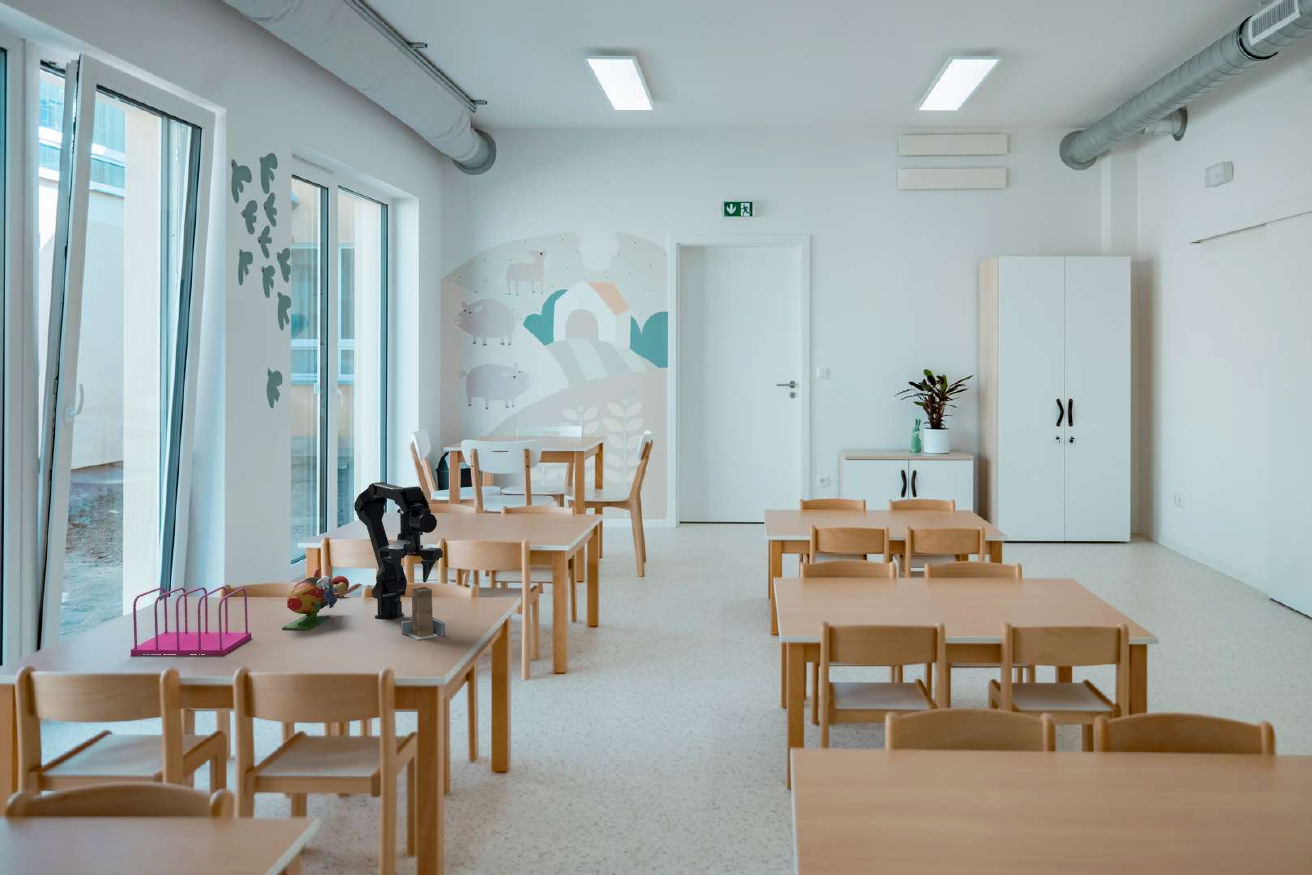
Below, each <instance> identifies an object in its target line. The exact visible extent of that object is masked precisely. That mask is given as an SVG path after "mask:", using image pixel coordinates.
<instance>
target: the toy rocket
mask: <svg viewBox="0 0 1312 875" xmlns="http://www.w3.org/2000/svg"><path fill="white" fill-rule="evenodd" d="M321 570H322V569H321V567H320V566H318V567H317V568H316V569H315V571H314V575H313V576H311V577H307V578H306V579H304V580H302V581H300V582H298V583H296V584H295V585H294V586H293V588H292V589H291V591H290V592H289V593H288V596H287V599H286V602H287V604H286V605H287V607H286V608H288V609H289V611H290V610H291V611H292V612H294V613H296V614H299V615H303V616H301V617H299V618H297V619H296V620H294V621H292V622H290V623H288V624H286V625H284V626H282V628H281V629H282V631H307V632H308V631H310V630H312V629H313V628H315V627H317V626H319V625H321V624H322V623H324V622H325V621H327V620H330V619H331V615H318V613H319V612H320V611H321V610H323V609H324V608H325V607H328V608H329V609H332V608H334V606H335V605H336V603H337V602H338V598H337V596H338V595H340V593H338V590H337V589H336V588H335V587H333V584H331V581H332V579H331V578H330V576H327V575H324V576H322V577H321V575H320V574H321Z"/></svg>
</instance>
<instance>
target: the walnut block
mask: <svg viewBox="0 0 1312 875" xmlns="http://www.w3.org/2000/svg"><path fill="white" fill-rule="evenodd" d="M432 590H433V589H432V588H428V587H426V586H421V587H414V588H412V587H411V614H412V615H411V617H412V619H411V620H412V624H413V634H414V635H416V636H418V637H424V636H430V635H433V633H434V632H433V617H434V616H433V591H432Z"/></svg>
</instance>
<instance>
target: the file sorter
mask: <svg viewBox="0 0 1312 875" xmlns="http://www.w3.org/2000/svg"><path fill="white" fill-rule="evenodd" d="M181 590H182V592H183V593H181V594H179V595H178V596H177V598H176V601H175V620H176V621H175V629H176V631H168V630H169V629H168V605H167V604H168V601H167V600H168V599H167V595H170V594H172V593H177V592H178V591H181ZM200 590H201V591H203V592H204V594H203V595H201V597H200V598H199V600H198V602H197V631H188V630H189V629H188V597H187V596H188V595H190V594H192V593H195V592H198V591H200ZM220 590H223V591H224V596H223V597H222V598H221V599H220V600H219V603H218V631H209V629H208V628H209V627H208V626H209V623H208V622H209V621H208V620H209V618H208V609H209V608H208V606H209V605H208V596H210V595H212V594H214V593H216V592H219V591H220ZM157 591H162V592H163V594H160V595H158V596H157V597H156V599H155V602H154V608H153V609H154V613H153V614H154V635H155V636H153V637H151V638H150V639H148V640H146V641H144V642H142V643H140V644H139V645H138V627H137V626H138V625H137V624H138V623H137V601H138V600H139V599H140V598H142V597H144V596H147V595H150V594H151V593H154V592H157ZM241 591H242V592H243V597H244V623H245V625H244V626H245V627H244V629H245V631H239V632H238V631H229V623H228V622H229V621H228V620H229V618H228V617H229V615H228V614H229V612H228V611H229V610H228V604H229V603H228V602H229V601H228V598H230V597H232V596H233V595H235V594H237V593H239V592H241ZM162 597H163V606H164V610H163V611H164V632H161V633H160V634H159V631H158V630H159V629H158V627H159V626H158V625H159V624H158V603H159V600H160V599H161V598H162ZM183 597H184V599H183V600H184V603H183V604H184V631H180V620H179V618H180V617H179V616H180V615H179V612H180V611H179V610H180V609H179V605H180V604H179V602H180V600H181V598H183ZM203 599H204V624H205V625H204V630H205V631H202V630H201V628H202V627H201V624H202V623H201V617H202V616H201V604H202V601H203ZM223 602H224V616H225V619H224V622H225V624H224V626H225V627H224V628H225V630H224V631H222V628H223V626H222V605H223ZM132 609H133V611H132V614H133V639H134V640H133V645H134V646H133V647H132V648H131V649H130V656H147V655H146V654H161V655H160V656H164V655H163V654H176V655H190V654H197V655H199V654H200V655H201V654H205V655H223V656H225V655H226V654H228V653H229V651H230V652H232V651H233V650H235V649H236V648H237V646H238V647H239V646H241V645H242V644H244V643H245V642H247V641H249V640H250V639H252V632H249V629H248V628H249V627H248V625H249V624H248V596H247V591H246V589H245V588H244V587H241V588H239V589H237V590H235V591H232V592H230V593H228V590H227V588H226V587H225V586H220V587H217V588H216V589H213V590H210V592H208V591H207V589H206V588H205V587H204V586H203V587H202V586H201V587H198V588H196V589H193V590H192V589H191V590H189V591H187V590H186V588H184V587H178V588H175V589H173V590H171V591H166V589H165V587H157V588H154V589H151V590H149V591H146V592H143V593H140V594H138V595H137V596H135V598H134V601H133V604H132ZM143 654H145V655H143ZM224 654H225V655H224Z"/></svg>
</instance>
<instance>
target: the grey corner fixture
mask: <svg viewBox="0 0 1312 875" xmlns="http://www.w3.org/2000/svg"><path fill="white" fill-rule="evenodd" d="M432 617H433V635H430V636H424V637H418V636H416V635H414V634H413V624H412V619H411V620H406V621H401V622H400V623H401V624H400V626H401V627H400V628H401V629H400V630H401V635H402V636H403V635H404V636H405V635H407V636H409V637H410V638H412V639H414V640H416V641H422V640H427V639H435V638H438V637H439V636H440V637H443V636H446V623H445V622H443V621H441V620H440V619H437V618H436V617H435V616H432ZM438 635H439V636H438Z"/></svg>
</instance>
